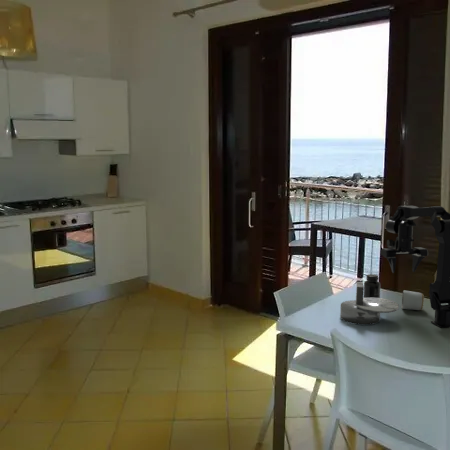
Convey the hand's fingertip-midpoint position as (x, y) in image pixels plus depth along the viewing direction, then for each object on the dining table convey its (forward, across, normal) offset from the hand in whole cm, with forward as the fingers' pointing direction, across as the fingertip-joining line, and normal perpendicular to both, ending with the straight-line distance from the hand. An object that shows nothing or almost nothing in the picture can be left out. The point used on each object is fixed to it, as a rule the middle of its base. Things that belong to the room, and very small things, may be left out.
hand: (403, 272), depth 216 cm
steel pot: (+14, +25, +14) cm, 32 cm away
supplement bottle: (+14, +11, -6) cm, 19 cm away
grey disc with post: (+9, +20, +16) cm, 27 cm away
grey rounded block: (+14, -2, +5) cm, 15 cm away
